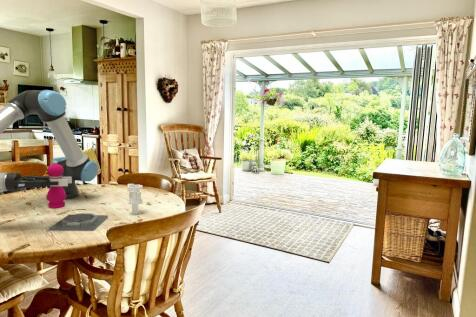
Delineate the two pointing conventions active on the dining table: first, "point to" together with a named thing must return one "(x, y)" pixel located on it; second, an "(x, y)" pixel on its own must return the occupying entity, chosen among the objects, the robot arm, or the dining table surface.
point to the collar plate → (79, 222)
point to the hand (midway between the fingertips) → (69, 181)
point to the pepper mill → (55, 187)
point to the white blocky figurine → (135, 197)
